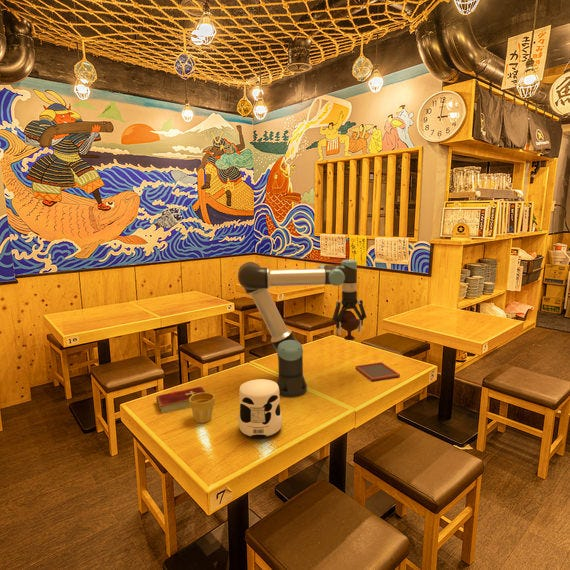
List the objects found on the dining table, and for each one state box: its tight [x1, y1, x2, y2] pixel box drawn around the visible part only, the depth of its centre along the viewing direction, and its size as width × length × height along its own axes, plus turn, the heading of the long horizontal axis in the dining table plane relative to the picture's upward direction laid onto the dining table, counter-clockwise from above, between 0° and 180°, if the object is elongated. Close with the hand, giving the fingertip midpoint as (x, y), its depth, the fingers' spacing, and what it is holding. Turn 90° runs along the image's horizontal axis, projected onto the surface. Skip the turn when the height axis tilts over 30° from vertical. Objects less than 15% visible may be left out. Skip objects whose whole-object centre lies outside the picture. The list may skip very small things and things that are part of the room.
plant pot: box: [189, 391, 216, 424], centre depth 165 cm, size 10×10×10 cm
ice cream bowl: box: [340, 310, 360, 341], centre depth 202 cm, size 11×11×15 cm
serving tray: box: [355, 361, 401, 383], centre depth 209 cm, size 16×18×2 cm
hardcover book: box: [155, 386, 206, 414], centre depth 181 cm, size 12×21×4 cm, turn 116°
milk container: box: [237, 378, 283, 439], centre depth 155 cm, size 17×17×18 cm
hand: (349, 333), depth 203 cm, fingers closed on ice cream bowl, 11 cm apart
